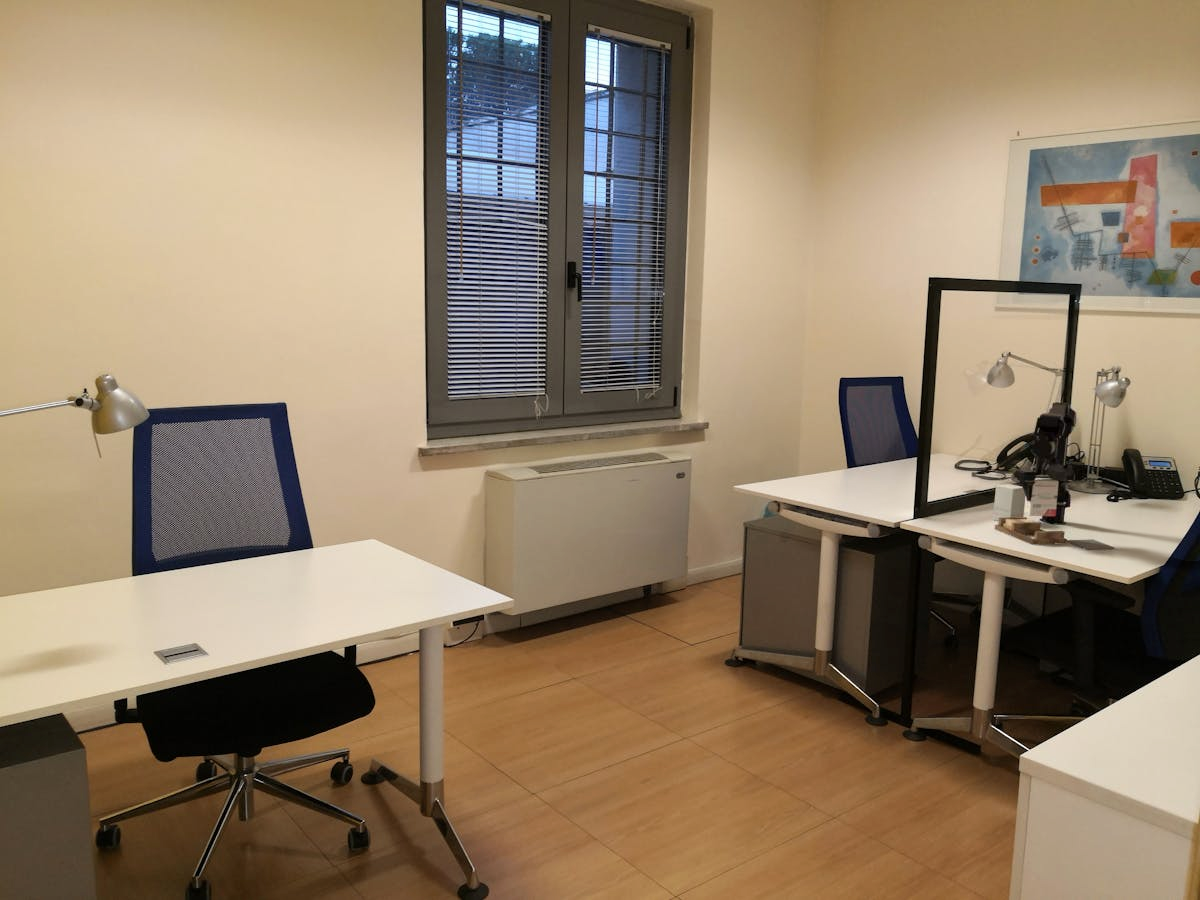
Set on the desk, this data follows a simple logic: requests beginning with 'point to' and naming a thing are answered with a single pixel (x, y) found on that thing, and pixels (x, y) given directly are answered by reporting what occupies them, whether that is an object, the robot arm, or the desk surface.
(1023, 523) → the walnut rack
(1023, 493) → the supplement box
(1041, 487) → the ink box
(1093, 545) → the dark grey mat
